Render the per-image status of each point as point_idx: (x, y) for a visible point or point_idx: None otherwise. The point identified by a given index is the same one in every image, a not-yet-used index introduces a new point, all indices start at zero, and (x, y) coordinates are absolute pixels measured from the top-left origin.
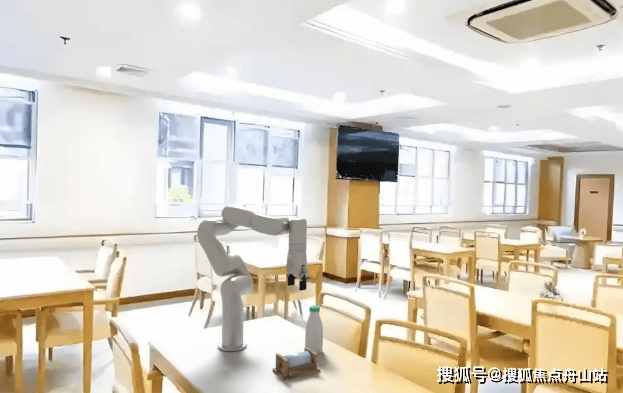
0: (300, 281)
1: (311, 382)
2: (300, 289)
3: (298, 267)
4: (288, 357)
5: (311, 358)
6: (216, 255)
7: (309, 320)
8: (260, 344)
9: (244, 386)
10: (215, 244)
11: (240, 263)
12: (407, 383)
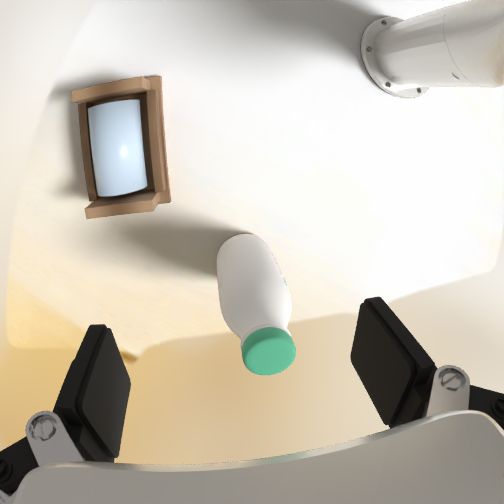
0: (61, 406)
1: (51, 158)
2: (89, 335)
3: None
4: (96, 111)
5: (110, 200)
6: None
7: (254, 296)
8: (378, 135)
9: None
10: None
11: None
12: (19, 342)
